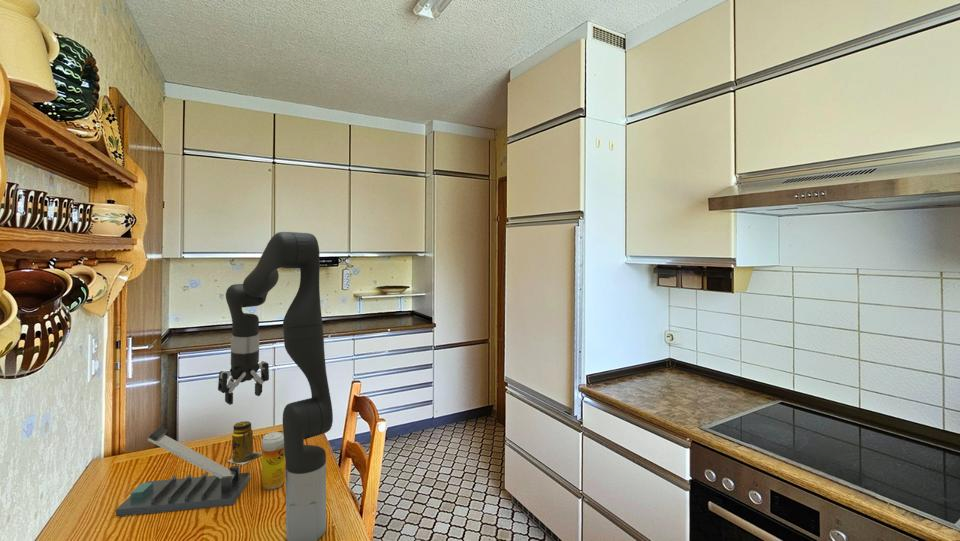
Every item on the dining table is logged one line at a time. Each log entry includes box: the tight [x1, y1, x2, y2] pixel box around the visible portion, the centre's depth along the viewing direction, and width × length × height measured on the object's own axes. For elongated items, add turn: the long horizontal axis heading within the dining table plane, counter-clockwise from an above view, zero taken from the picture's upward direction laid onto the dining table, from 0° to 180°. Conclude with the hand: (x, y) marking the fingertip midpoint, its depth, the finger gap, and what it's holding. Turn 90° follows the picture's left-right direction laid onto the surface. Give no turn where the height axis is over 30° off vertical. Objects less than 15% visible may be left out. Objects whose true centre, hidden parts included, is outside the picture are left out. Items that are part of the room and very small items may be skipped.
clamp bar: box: [147, 426, 236, 479], centre depth 120 cm, size 5×25×2 cm
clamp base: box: [115, 465, 251, 517], centre depth 120 cm, size 14×28×6 cm, turn 102°
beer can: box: [261, 431, 286, 490], centre depth 127 cm, size 6×6×15 cm
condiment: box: [227, 421, 262, 466], centre depth 143 cm, size 7×8×12 cm
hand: (244, 399), depth 130 cm, fingers open, 8 cm apart
